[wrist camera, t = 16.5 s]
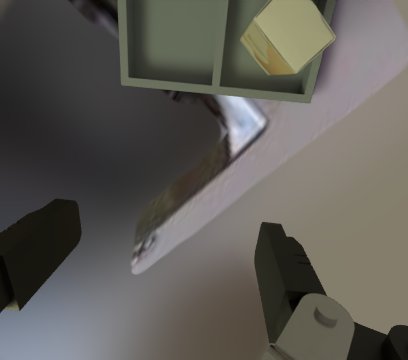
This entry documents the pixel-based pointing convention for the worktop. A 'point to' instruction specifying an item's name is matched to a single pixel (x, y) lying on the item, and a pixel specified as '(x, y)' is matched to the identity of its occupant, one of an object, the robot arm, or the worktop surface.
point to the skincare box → (287, 36)
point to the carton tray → (204, 49)
